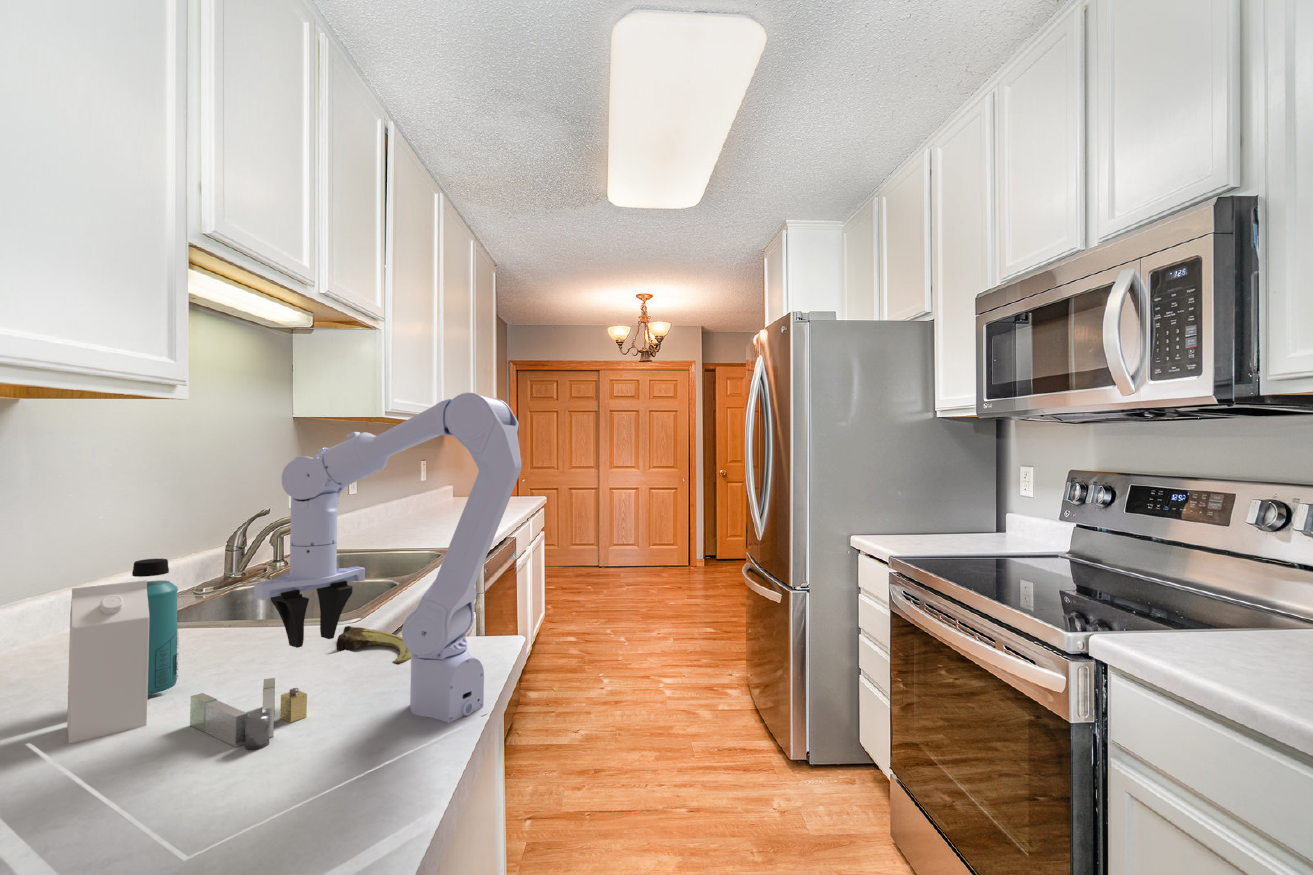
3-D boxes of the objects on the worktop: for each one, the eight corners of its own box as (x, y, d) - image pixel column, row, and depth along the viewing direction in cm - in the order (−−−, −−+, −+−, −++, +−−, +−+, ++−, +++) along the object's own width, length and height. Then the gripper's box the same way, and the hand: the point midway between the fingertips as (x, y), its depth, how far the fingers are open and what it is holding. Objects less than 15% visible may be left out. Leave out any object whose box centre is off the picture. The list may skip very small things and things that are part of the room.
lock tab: (306, 717, 81) (306, 688, 81) (290, 722, 80) (291, 694, 80) (296, 712, 83) (296, 685, 83) (280, 718, 81) (280, 690, 81)
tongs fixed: (273, 746, 74) (274, 712, 74) (247, 756, 72) (248, 721, 72) (215, 719, 81) (216, 688, 81) (190, 727, 79) (190, 696, 79)
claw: (317, 650, 114) (318, 631, 114) (365, 635, 123) (366, 618, 123) (396, 669, 105) (397, 649, 105) (441, 652, 115) (442, 634, 115)
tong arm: (273, 736, 76) (274, 706, 76) (261, 739, 75) (261, 708, 75) (274, 704, 85) (275, 677, 85) (263, 706, 85) (263, 679, 85)
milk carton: (66, 736, 79) (70, 583, 79) (140, 719, 84) (143, 576, 84) (68, 756, 74) (73, 593, 74) (146, 737, 79) (150, 584, 79)
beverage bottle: (182, 697, 91) (185, 559, 91) (122, 711, 86) (126, 565, 86) (172, 686, 95) (175, 553, 96) (114, 699, 90) (118, 559, 91)
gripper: (345, 535, 96) (343, 625, 96) (242, 547, 83) (240, 650, 83) (374, 539, 92) (372, 632, 92) (271, 552, 80) (269, 660, 79)
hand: (311, 641), depth 87 cm, fingers open, 4 cm apart
